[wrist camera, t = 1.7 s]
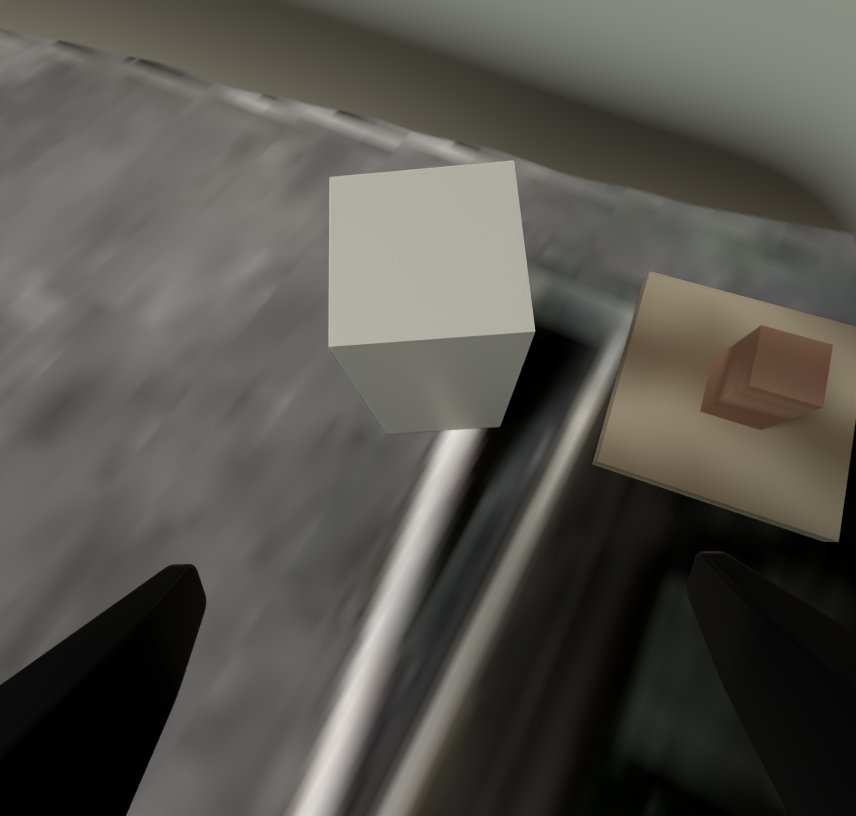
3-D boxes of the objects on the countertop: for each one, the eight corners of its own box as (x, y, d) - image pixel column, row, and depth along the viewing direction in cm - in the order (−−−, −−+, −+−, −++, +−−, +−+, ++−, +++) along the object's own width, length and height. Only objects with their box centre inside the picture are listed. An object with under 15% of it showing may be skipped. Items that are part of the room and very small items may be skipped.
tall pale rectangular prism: (499, 426, 22) (535, 331, 12) (387, 434, 23) (328, 346, 12) (489, 323, 24) (513, 160, 14) (384, 331, 24) (329, 177, 14)
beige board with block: (824, 541, 20) (924, 542, 16) (592, 464, 22) (626, 445, 17) (854, 336, 22) (948, 288, 18) (643, 279, 24) (684, 222, 20)
